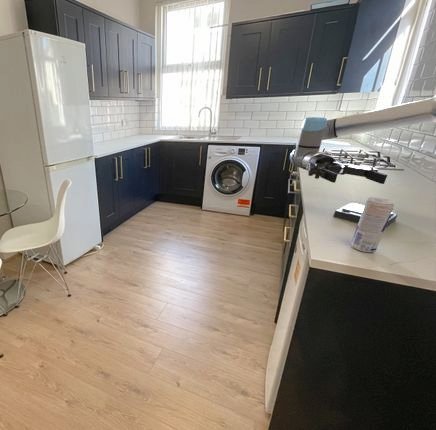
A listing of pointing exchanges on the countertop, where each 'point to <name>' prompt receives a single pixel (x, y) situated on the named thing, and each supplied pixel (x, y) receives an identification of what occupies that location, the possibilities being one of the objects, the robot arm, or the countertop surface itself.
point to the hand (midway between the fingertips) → (359, 178)
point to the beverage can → (372, 224)
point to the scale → (357, 213)
